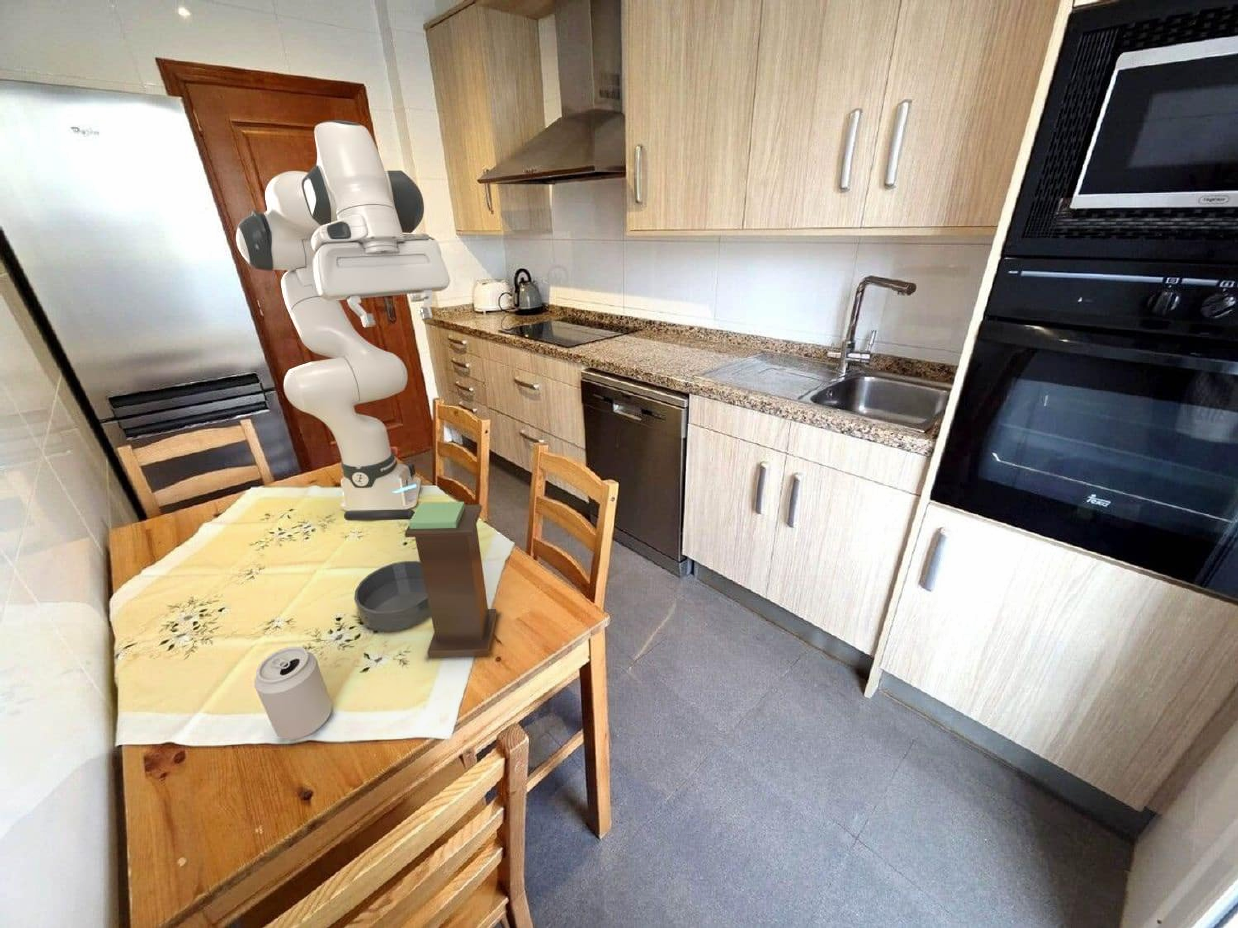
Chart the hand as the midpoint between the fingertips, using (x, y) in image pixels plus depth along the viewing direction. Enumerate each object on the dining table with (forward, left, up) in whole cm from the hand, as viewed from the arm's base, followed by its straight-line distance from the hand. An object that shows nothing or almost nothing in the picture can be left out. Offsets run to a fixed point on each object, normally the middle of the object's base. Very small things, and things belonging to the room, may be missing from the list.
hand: (399, 322), depth 83 cm
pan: (+8, -6, -52) cm, 53 cm away
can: (+33, -12, -52) cm, 63 cm away
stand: (+17, +8, -52) cm, 55 cm away
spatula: (+17, +2, -27) cm, 32 cm away
